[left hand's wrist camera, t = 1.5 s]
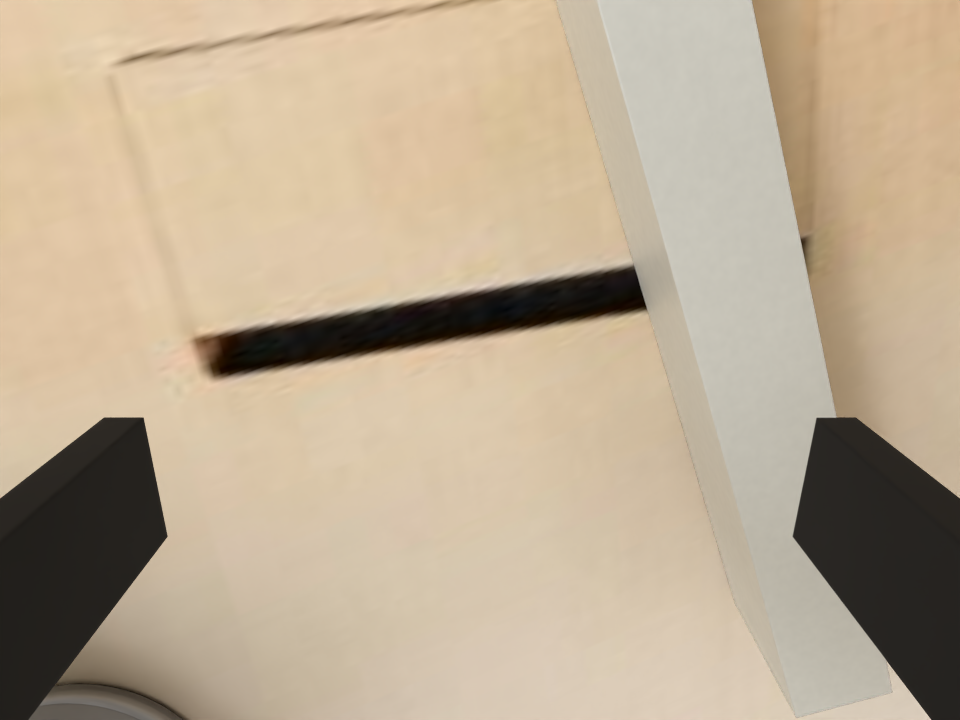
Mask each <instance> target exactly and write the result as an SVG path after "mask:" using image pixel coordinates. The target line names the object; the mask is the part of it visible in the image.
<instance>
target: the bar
mask: <svg viewBox="0 0 960 720" xmlns="http://www.w3.org/2000/svg"><path fill="white" fill-rule="evenodd" d="M555 1H556V4H557V8H558V11H559V14H560V18H561V21H562V25H563V28H564V31H565V35H566V38H567V41H568V45H569V48H570V51H571V55H572V58H573V61H574V65H575V68H576V72H577V75H578V78H579V82H580V85H581V88H582V92H583V95H584V98H585V102H586V105H587V108H588V112H589V115H590V119H591V122H592V125H593V129H594V132H595V135H596V139H597V142H598V145H599V149H600V152H601V156H602V159H603V162H604V166H605V169H606V172H607V176H608V179H609V182H610V186H611V189H612V192H613V196H614V199H615V203H616V206H617V209H618V213H619V216H620V219H621V223H622V226H623V229H624V233H625V236H626V239H627V243H628V246H629V250H630V253H631V256H632V260H633V263H634V266H635V270H636V273H637V276H638V280H639V283H640V286H641V290H642V293H643V297H644V300H645V303H646V307H647V310H648V313H649V317H650V320H651V323H652V327H653V330H654V334H655V337H656V340H657V344H658V347H659V350H660V354H661V357H662V360H663V364H664V367H665V370H666V374H667V377H668V381H669V384H670V387H671V391H672V394H673V397H674V401H675V404H676V407H677V411H678V414H679V417H680V421H681V424H682V428H683V431H684V434H685V438H686V441H687V444H688V448H689V451H690V454H691V458H692V461H693V465H694V468H695V471H696V475H697V478H698V481H699V485H700V488H701V491H702V495H703V498H704V501H705V505H706V508H707V512H708V515H709V518H710V522H711V525H712V528H713V532H714V535H715V538H716V542H717V545H718V548H719V552H720V555H721V559H722V562H723V565H724V569H725V572H726V575H727V579H728V582H729V585H730V589H731V592H732V596H733V599H734V602H735V605H736V607H737V609H738V611H739V612H740V614H741V616H742V618H743V620H744V622H745V624H746V625H747V627H748V629H749V631H750V633H751V635H752V637H753V639H754V640H755V642H756V644H757V646H758V648H759V650H760V652H761V653H762V655H763V657H764V659H765V661H766V663H767V665H768V667H769V668H770V670H771V672H772V674H773V676H774V678H775V680H776V681H777V683H778V685H779V687H780V689H781V691H782V693H783V695H784V696H785V698H786V700H787V702H788V704H789V706H790V708H791V709H792V711H793V713H794V715H795V717H796V718H799V717H802V716H806V715H810V714H814V713H817V712H821V711H825V710H829V709H832V708H836V707H840V706H844V705H847V704H851V703H855V702H859V701H863V700H866V699H870V698H874V697H878V696H881V695H885V694H889V693H892V692H893V691H892V687H891V682H890V677H889V672H888V667H887V662H886V659H885V658H884V657H883V655H882V654H881V653H880V651H879V650H878V649H877V647H876V646H875V645H874V643H873V642H872V641H871V639H870V638H869V637H868V635H867V634H866V633H865V632H864V630H863V629H862V628H861V626H860V625H859V624H858V622H857V621H856V620H855V618H854V617H853V616H852V614H851V613H850V612H849V610H848V609H847V608H846V606H845V605H844V604H843V603H842V601H841V600H840V599H839V597H838V596H837V595H836V593H835V592H834V591H833V589H832V588H831V587H830V585H829V584H828V583H827V581H826V580H825V579H824V578H823V576H822V575H821V574H820V572H819V571H818V570H817V568H816V567H815V566H814V564H813V563H812V562H811V560H810V559H809V558H808V556H807V555H806V554H805V552H804V551H803V550H802V549H801V547H800V546H799V545H798V543H797V542H796V541H795V539H794V538H793V532H794V527H795V522H796V517H797V512H798V507H799V502H800V497H801V492H802V487H803V482H804V477H805V472H806V467H807V462H808V457H809V452H810V447H811V442H812V438H813V433H814V428H815V423H816V418H837V416H836V411H835V406H834V401H833V397H832V392H831V387H830V382H829V377H828V372H827V367H826V362H825V357H824V352H823V347H822V343H821V338H820V333H819V328H818V323H817V318H816V313H815V308H814V303H813V298H812V293H811V288H810V284H809V279H808V274H807V269H806V264H805V259H804V254H803V249H802V244H801V239H800V234H799V229H798V225H797V220H796V215H795V210H794V205H793V200H792V195H791V190H790V185H789V180H788V175H787V171H786V166H785V161H784V156H783V151H782V146H781V141H780V136H779V131H778V126H777V121H776V116H775V112H774V107H773V102H772V97H771V92H770V87H769V82H768V77H767V72H766V67H765V62H764V57H763V53H762V48H761V43H760V38H759V33H758V28H757V23H756V18H755V13H754V8H753V3H752V0H555Z"/></svg>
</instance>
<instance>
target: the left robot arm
mask: <svg viewBox="0 0 960 720" xmlns="http://www.w3.org/2000/svg"><path fill="white" fill-rule="evenodd" d="M166 538H167V532H166V527H165V522H164V517H163V512H162V507H161V502H160V497H159V492H158V487H157V482H156V477H155V472H154V467H153V462H152V457H151V452H150V447H149V442H148V438H147V433H146V428H145V423H144V418H103V419H102V420H101V421H99V422H98V423H97V424H95V425H94V426H93V427H92V428H90V429H89V430H88V431H86V432H85V433H84V434H83V435H81V436H80V437H79V438H77V439H76V440H75V441H74V442H72V443H71V444H70V445H68V446H67V447H66V448H65V449H63V450H62V451H61V452H59V453H58V454H57V455H56V456H54V457H53V458H52V459H50V460H49V461H48V462H47V463H45V464H44V465H43V466H41V467H40V468H39V469H38V470H36V471H35V472H34V473H32V474H31V475H30V476H29V477H27V478H26V479H25V480H23V481H22V482H21V483H20V484H18V485H17V486H16V487H14V488H13V489H12V490H11V491H9V492H8V493H7V494H5V495H4V496H3V497H2V498H0V720H182V719H181V718H179V717H178V716H177V715H176V714H174V713H173V712H171V711H170V710H168V709H167V708H165V707H163V706H162V705H160V704H158V703H156V702H154V701H152V700H150V699H148V698H146V697H143V696H141V695H138V694H135V693H132V692H129V691H126V690H122V689H118V688H114V687H108V686H102V685H93V684H68V685H60V686H55V684H56V683H57V682H58V680H59V679H60V678H61V676H62V675H63V674H64V672H65V671H66V670H67V668H68V667H69V666H70V664H71V663H72V662H73V660H74V659H75V658H76V657H77V655H78V654H79V653H80V651H81V650H82V649H83V647H84V646H85V645H86V643H87V642H88V641H89V639H90V638H91V637H92V635H93V634H94V633H95V632H96V630H97V629H98V628H99V626H100V625H101V624H102V622H103V621H104V620H105V618H106V617H107V616H108V614H109V613H110V612H111V610H112V609H113V608H114V606H115V605H116V604H117V603H118V601H119V600H120V599H121V597H122V596H123V595H124V593H125V592H126V591H127V589H128V588H129V587H130V585H131V584H132V583H133V581H134V580H135V579H136V578H137V576H138V575H139V574H140V572H141V571H142V570H143V568H144V567H145V566H146V564H147V563H148V562H149V560H150V559H151V558H152V556H153V555H154V554H155V552H156V551H157V550H158V549H159V547H160V546H161V545H162V543H163V542H164V541H165V539H166ZM793 538H794V539H795V541H796V542H797V543H798V545H799V546H800V547H801V549H802V550H803V551H804V552H805V554H806V555H807V556H808V558H809V559H810V560H811V562H812V563H813V564H814V566H815V567H816V568H817V570H818V571H819V572H820V574H821V575H822V576H823V578H824V579H825V580H826V581H827V583H828V584H829V585H830V587H831V588H832V589H833V591H834V592H835V593H836V595H837V596H838V597H839V599H840V600H841V601H842V603H843V604H844V605H845V606H846V608H847V609H848V610H849V612H850V613H851V614H852V616H853V617H854V618H855V620H856V621H857V622H858V624H859V625H860V626H861V628H862V629H863V630H864V632H865V633H866V634H867V635H868V637H869V638H870V639H871V641H872V642H873V643H874V645H875V646H876V647H877V649H878V650H879V651H880V653H881V654H882V655H883V657H884V658H885V659H886V660H887V662H888V663H889V664H890V666H891V667H892V668H893V670H894V671H895V672H896V674H897V675H898V676H899V678H900V679H901V680H902V682H903V683H904V684H905V686H906V687H907V688H908V689H909V691H910V692H911V693H912V695H913V696H914V697H915V699H916V700H917V701H918V703H919V704H920V705H921V707H922V708H923V709H924V711H925V712H926V713H927V714H928V716H929V717H930V718H931V720H960V498H958V497H957V496H956V495H955V494H953V493H952V492H951V491H949V490H948V489H947V488H946V487H944V486H943V485H942V484H940V483H939V482H938V481H937V480H935V479H934V478H933V477H931V476H930V475H929V474H928V473H926V472H925V471H924V470H922V469H921V468H920V467H919V466H917V465H916V464H915V463H913V462H912V461H911V460H910V459H908V458H907V457H906V456H904V455H903V454H902V453H901V452H899V451H898V450H897V449H895V448H894V447H893V446H892V445H890V444H889V443H888V442H886V441H885V440H884V439H883V438H881V437H880V436H879V435H877V434H876V433H875V432H874V431H872V430H871V429H870V428H868V427H867V426H866V425H865V424H863V423H862V422H861V421H859V420H858V419H857V418H816V423H815V428H814V433H813V438H812V442H811V447H810V452H809V457H808V462H807V467H806V472H805V477H804V482H803V487H802V492H801V497H800V502H799V507H798V512H797V517H796V522H795V527H794V532H793Z"/></svg>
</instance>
